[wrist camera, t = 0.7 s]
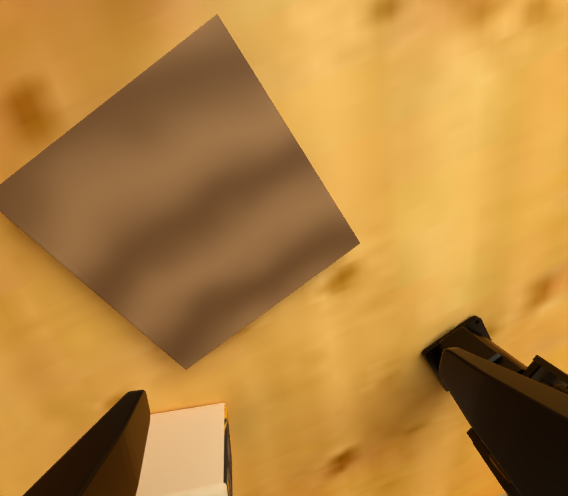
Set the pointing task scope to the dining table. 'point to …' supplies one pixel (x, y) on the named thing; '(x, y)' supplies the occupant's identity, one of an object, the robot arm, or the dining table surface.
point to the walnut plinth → (183, 200)
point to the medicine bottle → (188, 453)
